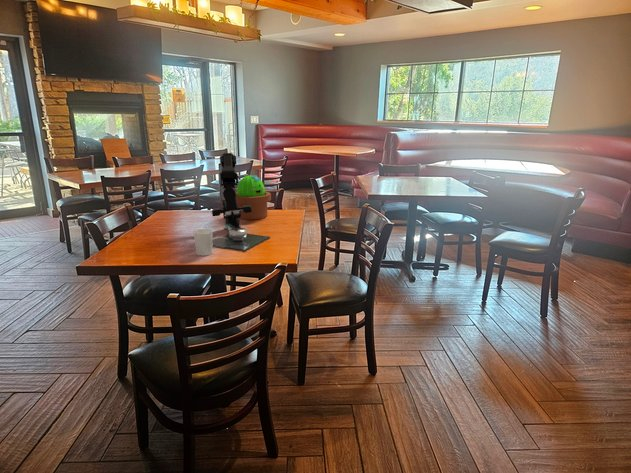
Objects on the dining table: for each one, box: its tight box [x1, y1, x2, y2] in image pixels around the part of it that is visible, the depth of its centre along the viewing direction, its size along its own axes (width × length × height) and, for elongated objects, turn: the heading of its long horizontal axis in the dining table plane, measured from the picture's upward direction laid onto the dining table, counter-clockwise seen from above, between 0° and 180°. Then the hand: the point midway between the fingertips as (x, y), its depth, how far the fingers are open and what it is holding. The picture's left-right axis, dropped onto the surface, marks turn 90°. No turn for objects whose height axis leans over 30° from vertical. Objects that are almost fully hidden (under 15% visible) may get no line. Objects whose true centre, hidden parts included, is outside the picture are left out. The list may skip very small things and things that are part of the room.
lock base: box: [212, 232, 271, 252], centre depth 195 cm, size 24×22×2 cm
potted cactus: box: [236, 174, 272, 221], centre depth 239 cm, size 22×22×25 cm
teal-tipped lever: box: [225, 223, 248, 239], centre depth 198 cm, size 17×8×3 cm, turn 33°
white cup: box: [193, 228, 214, 257], centre depth 178 cm, size 8×8×10 cm
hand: (234, 227), depth 202 cm, fingers closed, pressing on teal-tipped lever
